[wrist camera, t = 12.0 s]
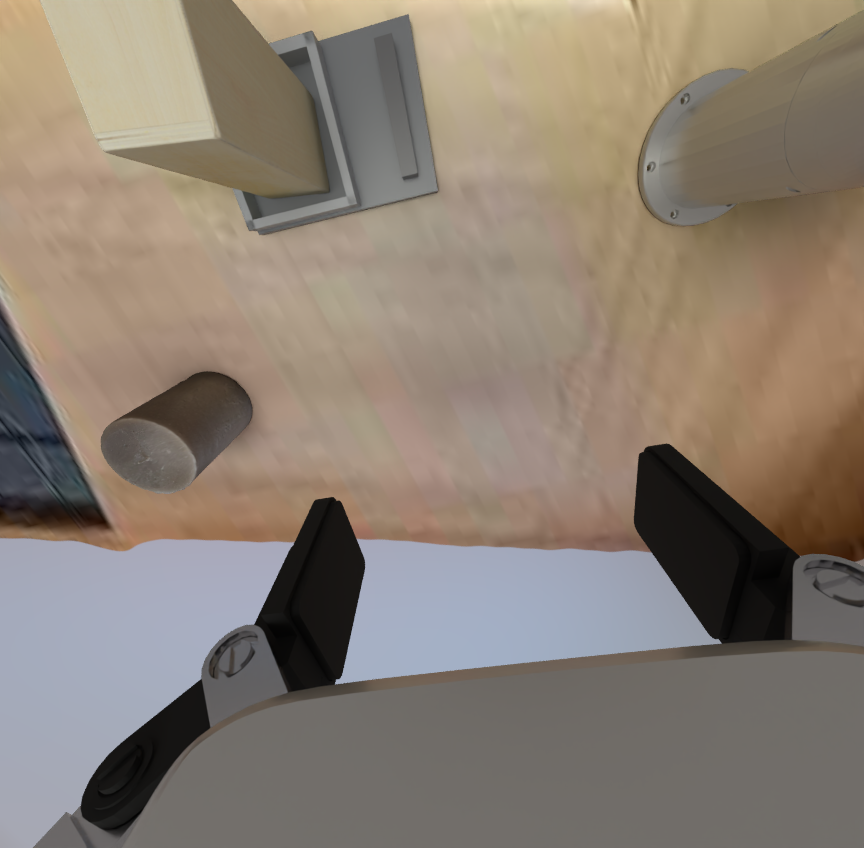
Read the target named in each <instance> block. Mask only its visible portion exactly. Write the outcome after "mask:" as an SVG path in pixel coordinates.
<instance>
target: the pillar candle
mask: <svg viewBox="0 0 864 848" xmlns="http://www.w3.org/2000/svg"><path fill="white" fill-rule="evenodd" d="M251 417H252V405H251V402H250V399H249V397H248V395H247V394H246V392H245V391H244V390H243V389H242V388H241V386H239V385H238V384H237V383H236V382H234V381H233V380H232V379H230V378H228V377H226V376H224V375H221V374H218V373H215V372H200V373H197V374H194V375H192V376H190V377H189V378H188V379H187V380H185V381H182V382H180V383H179V384H178V385H175V386H174V387H172V388H171V389H169V390H167V391H165V392H164V393H162V394H160V395H158V396H156V397H154V398H153V399H151V400H150V401H148V402H146V403H144V404H142V405H141V406H139V407H137V408H136V409H134V410H132V411H131V412H129V413H127V414H125V415H124V416H122V417H120V418H119V419H117V420H115V421H114V422H112V423H111V424H110V425H109V426H107V427H106V429H105V430H104V432H103V435H102V437H101V450H102V453H103V455H104V458H105V459H106V461H107V463H108V464H109V465H110V466H111V468H112V469H113V470H114V471H115V472H116V473H117V474H118V475H119V476H121V477H122V478H123V479H125V480H127V481H128V482H130V483H131V484H133V485H136V486H138V487H140V488H142V489H145V490H149V491H153V492H155V493H164V494H170V493H172V492H173V493H175V492H176V491H179V490H183V489H185V487H187V486H189V485H190V484H191V483H192V482H193V481H194V479H195V478H196V477H197V476H198V475H199V474H200V473H201V472H202V471H203V470H204V469H205V468H206V467H207V466H208V465H209V464H210V463H211V462H212V461H213V460H214V459H215V458H216V457H217V456H218V455H219V454H220V453H221V452H222V451H223V450H224V449H225V448H226V447H227V446H228V445H229V444H230V443H231V442H232V441H233V440H234V439H235V438H236V437H237V436H238V435H239V434H240V433H241V432H242V431H243V430H244V429H245V427H246V426H247V425H248V424H249V422H250V419H251Z"/></svg>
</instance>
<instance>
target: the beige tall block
mask: <svg viewBox="0 0 864 848" xmlns="http://www.w3.org/2000/svg"><path fill="white" fill-rule="evenodd" d="M40 2H41V5H42V7H43V10H44V12H45V15H46V17H47V20H48V22H49V24H50V27H51V29H52V32H53V34H54V37H55V39H56V42H57V44H58V47H59V49H60V52H61V54H62V56H63V59H64V61H65V64H66V66H67V69H68V71H69V74H70V76H71V79H72V81H73V84H74V86H75V89H76V91H77V94H78V96H79V98H80V101H81V103H82V106H83V108H84V111H85V113H86V116H87V118H88V121H89V123H90V126H91V128H92V131H93V133H94V135H95V138H96V140H97V142H98V144H99V146H100V147H101V149H102V150H103V151H104V152H106V153H109V154H113V155H116V156H119V157H123V158H127V159H130V160H134V161H137V162H141V163H145V164H148V165H152V166H155V167H159V168H162V169H166V170H169V171H173V172H177V173H180V174H184V175H187V176H191V177H195V178H199V179H202V180H206V181H209V182H213V183H217V184H220V185H223V186H227V187H231V188H234V189H238V190H241V191H245V192H248V193H252V194H255V195H259V196H262V197H265V198H270V199H273V198H285V197H294V196H304V195H313V194H322V193H329V182H328V176H327V170H326V165H325V159H324V154H323V148H322V142H321V137H320V131H319V126H318V120H317V115H316V109H315V104H314V100H313V97H312V95H311V93H310V92H309V91H308V90H307V89H306V88H305V86H304V85H303V84H302V83H301V82H300V80H299V79H298V78H297V77H296V76H295V74H294V73H293V72H292V71H291V70H290V69H289V67H288V66H287V65H286V64H285V63H284V61H283V60H282V59H281V58H280V57H279V56H278V54H277V53H276V52H275V51H274V50H273V48H272V47H271V46H270V45H269V44H268V43H267V41H266V40H265V39H264V38H263V37H262V36H261V34H260V33H259V32H258V31H257V30H256V28H255V27H254V26H253V25H252V24H251V22H250V21H249V20H248V19H247V18H246V16H245V15H244V14H243V13H242V12H241V10H240V9H239V8H238V7H237V6H236V4H235V3H234V2H233V1H232V0H40Z"/></svg>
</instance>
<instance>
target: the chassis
mask: <svg viewBox="0 0 864 848" xmlns="http://www.w3.org/2000/svg"><path fill="white" fill-rule="evenodd" d="M269 45H270V46H271V47H272V48H273V50H274V51H275V52H276V53H277V54H278V56H279V57H280V58H281V59H282V60H283V61H284V63H285V64H286V65H287V66H288V67H289V69H290V70H291V71H292V72H293V73H294V74H295V76H296V77H297V78H298V79H299V80H300V82H301V83H302V84H303V85H304V86H305V88H306V89H307V90H308V91H309V92H310V93H311V95H312V97H313V100H314V104H315V109H316V115H317V120H318V126H319V131H320V137H321V142H322V148H323V154H324V159H325V165H326V170H327V176H328V182H329V193H322V194H313V195H304V196H294V197H285V198H273V199H270V198H265V197H262V196H259V195H255V194H252V193H248V192H245V191H241V190H238V189H234V188H233V191H234V193H235V196H236V199H237V201H238V204H239V206H240V209H241V211H242V214H243V217H244V219H245V222H246V224H247V227H248V229H249V231H258V233H259V235H265V234H269V233H273V232H277V231H282V230H286V229H290V228H294V227H298V226H302V225H306V224H310V223H314V222H318V221H322V220H326V219H330V218H334V217H338V216H343V215H347V214H351V213H355V212H359V211H363V210H367V209H371V208H375V207H379V206H383V205H387V204H391V203H395V202H399V201H404V200H408V199H412V198H416V197H420V196H424V195H428V194H432V193H436V192H438V188H437V182H436V176H435V170H434V164H433V158H432V152H431V146H430V140H429V134H428V128H427V122H426V116H425V110H424V104H423V98H422V92H421V86H420V80H419V74H418V68H417V62H416V56H415V50H414V44H413V38H412V32H411V26H410V20H409V14H408V15H404V16H401V17H398V18H394V19H391V20H388V21H384V22H381V23H378V24H374V25H371V26H368V27H364V28H361V29H358V30H354V31H351V32H348V33H344V34H341V35H338V36H334V37H331V38H328V39H324V40H321V41H318V40H317V38H316V36H315V35H314V33H313V31H309V32H306V33H303V34H299V35H296V36H293V37H289V38H286V39H283V40H279V41H276V42H273V43H270V44H269Z"/></svg>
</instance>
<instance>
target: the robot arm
mask: <svg viewBox="0 0 864 848" xmlns="http://www.w3.org/2000/svg"><path fill="white" fill-rule="evenodd" d="M680 100H682V103H681V102H680ZM647 166H648V167H649V169H648V171H647ZM638 177H639V188H640V191H641V195H642V199H643V200H644V202H645V204H646V206H647V208H648V209H649V210H650V212H651V213H652V214H653V215H654V216H655V217H657V218H658V219H660V220H661V221H663V222H665V223H668V224H671V225H677V226H692V225H698V224H702V223H706V222H708V221H711V220H713V219H716V218H718V217H719V216H721V215H723V214H724V213H726V212H728V211H729V210H730V209H732V208H733V207H734V206H735V205H736V204H738V203H744V202H752V201H760V200H767V199H775V198H783V197H791V196H799V195H806V194H814V193H822V192H830V191H838V190H846V189H853V188H859V187H864V10H862V11H860V12H858V13H857V14H855V15H853V16H851V17H849V18H847V19H846V20H844V21H842V22H840V23H838V24H836V25H834V26H833V27H831V28H829V29H827V30H825V31H823V32H822V33H820V34H818V35H816V36H814V37H812V38H811V39H809V40H807V41H805V42H803V43H801V44H799V45H798V46H796V47H794V48H792V49H790V50H788V51H787V52H785V53H783V54H781V55H779V56H777V57H775V58H774V59H772V60H770V61H768V62H766V63H764V64H763V65H761V66H759V67H757V68H755V69H753V70H752V71H750V72H749V71H747V70H744V69H735V68H729V69H722V70H717V71H714V72H712V73H709V74H706V75H704V76H702V77H700V78H699V79H697V80H695V81H694V82H692V83H690V84H689V85H688V86H686V87H685V88H683V89H682V90H681V91H679V92H678V93H677V94H676V95H675V96H674V97H673V98H672V99H671V100H670V101H669V102H668V103H667V104H666V106H665V107H664V108H663V109H662V111H661V112H660V113H659V115H658V116H657V118H656V119H655V121H654V123H653V125H652V126H651V128H650V130H649V132H648V135H647V137H646V140H645V142H644V144H643V148H642V152H641V156H640V161H639V171H638ZM671 213H672V215H671V217H670V214H671ZM634 524H635V528H636V530H637V532H638V533H639V535H640V536H641V538H642V539H643V541H644V542H645V543H646V545H647V546H648V548H649V549H650V551H651V552H652V553H653V555H654V556H655V558H656V559H657V561H658V562H659V564H660V565H661V566H662V568H663V569H664V571H665V572H666V573H667V575H668V576H669V578H670V579H671V581H672V582H673V584H674V585H675V586H676V588H677V589H678V591H679V592H680V594H681V595H682V597H683V598H684V599H685V601H686V602H687V604H688V605H689V607H690V608H691V609H692V611H693V612H694V614H695V615H696V617H697V618H698V620H699V621H700V622H701V624H702V625H703V627H704V628H705V630H706V631H707V632H708V634H709V635H710V636H711V637H712V638H714V639H719V640H720V641H721V643H722V644H713V645H701V646H689V647H679V648H668V649H658V650H648V651H638V652H628V653H618V654H608V655H598V656H588V657H578V658H568V659H559V660H550V661H539V662H530V663H520V664H511V665H501V666H493V667H483V668H474V669H464V670H455V671H446V672H437V673H428V674H419V675H410V676H401V677H392V678H383V679H375V680H367V681H359V682H352V683H344V684H336V685H335V682H336V679H340V678H341V676H342V673H343V668H344V664H345V659H346V655H347V650H348V645H349V640H350V636H351V631H352V626H353V622H354V616H355V613H356V608H357V603H358V599H359V594H360V589H361V585H362V580H363V576H364V570H365V560H364V557H363V554H362V552H361V549H360V547H359V544H358V542H357V539H356V537H355V534H354V532H353V530H352V527H351V525H350V522H349V520H348V517H347V515H346V512H345V510H344V507H343V505H342V503H341V501H336V499H335V498H334V497H330V498H323V499H317V500H315V501H314V502H313V505H312V507H311V509H310V511H309V513H308V515H307V517H306V519H305V522H304V524H303V526H302V528H301V530H300V532H299V534H298V537H297V539H296V541H295V543H294V545H293V546H292V547H291V549H290V551H289V552H288V555H287V557H286V559H285V561H284V563H283V565H282V567H281V569H280V571H279V574H278V576H277V578H276V580H275V582H274V584H273V586H272V589H271V591H270V593H269V595H268V597H267V599H266V601H265V603H264V605H263V608H262V610H261V612H260V614H259V616H258V618H257V620H256V622H255V624H254V625H245V626H242V627H239V628H237V629H235V630H233V631H231V632H230V633H228V634H227V635H225V636H224V637H223V638H222V639H221V640H219V641H218V643H217V644H216V645H215V646H214V647H213V648H212V649H211V651H210V653H209V654H208V656H207V657H206V659H205V661H204V664H203V667H202V676H201V677H202V679H201V680H200V681H198V682H197V683H196V684H195V685H193V686H192V687H191V688H189V689H188V690H187V691H186V692H184V693H183V694H182V695H181V696H179V697H178V698H177V699H176V700H174V701H173V702H172V703H171V704H170V705H168V706H167V707H166V708H164V709H163V710H162V711H161V712H159V713H158V714H157V715H156V716H154V717H153V718H152V719H151V720H149V721H148V722H147V723H146V724H144V725H143V726H142V727H141V728H139V729H138V730H137V731H136V732H134V733H133V734H132V735H131V736H129V737H128V738H127V739H126V740H125V741H123V742H122V743H121V744H120V745H119V746H117V747H116V748H115V749H114V750H113V751H112V752H111V753H110V754H109V755H108V756H107V757H106V758H105V760H104V761H103V762H102V763H101V765H100V766H99V767H98V768H97V770H96V772H95V773H94V774H93V776H92V778H91V779H90V781H89V783H88V785H87V787H86V789H85V792H84V794H83V797H82V802H81V806H80V807H79V808H78V809H77V810H76V811H75V812H74V814H73V815H71V814H69V813H67V812H66V813H65V814H64V815H63V816H62V817H61V818H60V820H59V821H58V822H57V823H56V824H55V825H54V826H53V827H52V828H51V829H50V830H49V831H48V832H47V833H46V834H45V836H44V837H43V838H42V839H41V840H40V841H39V842H38V843H37V844H36V845H35V846H34V847H33V848H864V567H863V566H861V565H859V564H857V563H855V562H852V561H849V560H846V559H843V558H840V557H835V556H830V555H825V554H810V555H805V556H801V557H800V556H799V555H798V554H796V553H795V552H794V551H793V550H792V549H791V548H790V547H788V546H787V545H786V544H785V543H784V542H783V541H781V540H780V539H779V538H778V537H777V536H776V535H774V534H773V533H772V532H771V531H770V530H769V529H768V528H766V527H765V526H764V525H763V524H762V523H761V522H759V521H758V520H757V519H756V518H755V517H754V516H752V515H751V514H750V513H749V512H748V511H747V510H746V509H744V508H743V507H742V506H741V505H740V504H739V503H737V502H736V501H735V500H734V499H733V498H732V497H730V496H729V495H728V494H727V493H726V492H725V491H724V490H722V489H721V488H720V487H719V486H718V485H716V484H715V483H714V482H713V481H712V480H711V479H710V478H708V477H707V476H706V475H705V474H704V473H703V472H701V471H700V470H699V469H698V468H697V467H696V466H694V465H693V464H692V463H691V462H690V461H689V460H688V459H686V458H685V457H684V456H683V455H682V454H681V453H679V452H678V451H677V450H676V449H675V448H674V447H672V446H671V445H670V444H661V445H655V446H649V447H646V448H645V450H644V452H642V453H640V454H639V459H638V472H637V485H636V498H635V511H634Z"/></svg>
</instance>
